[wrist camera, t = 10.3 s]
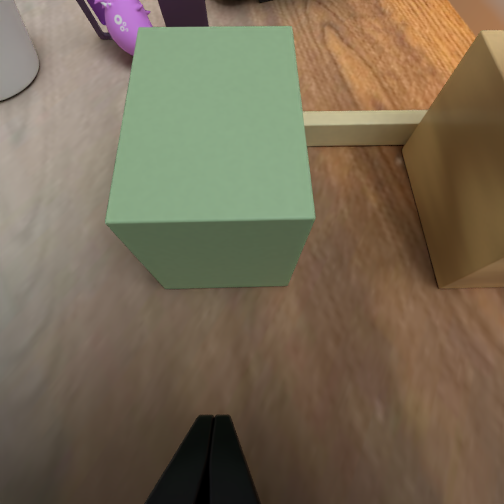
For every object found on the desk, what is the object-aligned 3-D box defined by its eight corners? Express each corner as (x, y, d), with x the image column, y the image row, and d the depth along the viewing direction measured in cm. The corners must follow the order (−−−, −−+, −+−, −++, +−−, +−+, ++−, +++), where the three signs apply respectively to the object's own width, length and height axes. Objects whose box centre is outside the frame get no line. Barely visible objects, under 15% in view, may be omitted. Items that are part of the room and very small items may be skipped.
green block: (288, 286, 18) (316, 218, 10) (164, 289, 18) (103, 222, 10) (277, 147, 21) (292, 25, 14) (176, 148, 21) (137, 26, 14)
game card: (197, -61, 19) (49, -60, 19) (200, 19, 19) (50, 22, 19) (209, 24, 26) (100, 26, 26) (211, 84, 26) (101, 87, 25)
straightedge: (484, 144, 22) (505, 122, 20) (140, 149, 21) (130, 127, 19) (478, 130, 22) (499, 108, 20) (142, 135, 22) (133, 113, 20)
